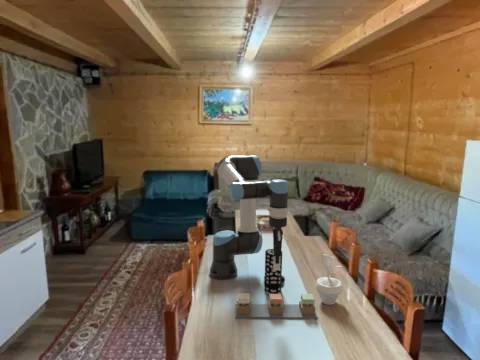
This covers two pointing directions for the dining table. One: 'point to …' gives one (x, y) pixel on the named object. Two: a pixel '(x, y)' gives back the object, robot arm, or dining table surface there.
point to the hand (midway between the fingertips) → (276, 269)
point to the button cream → (243, 299)
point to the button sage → (307, 299)
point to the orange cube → (275, 299)
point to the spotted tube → (272, 274)
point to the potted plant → (328, 283)
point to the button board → (275, 311)
